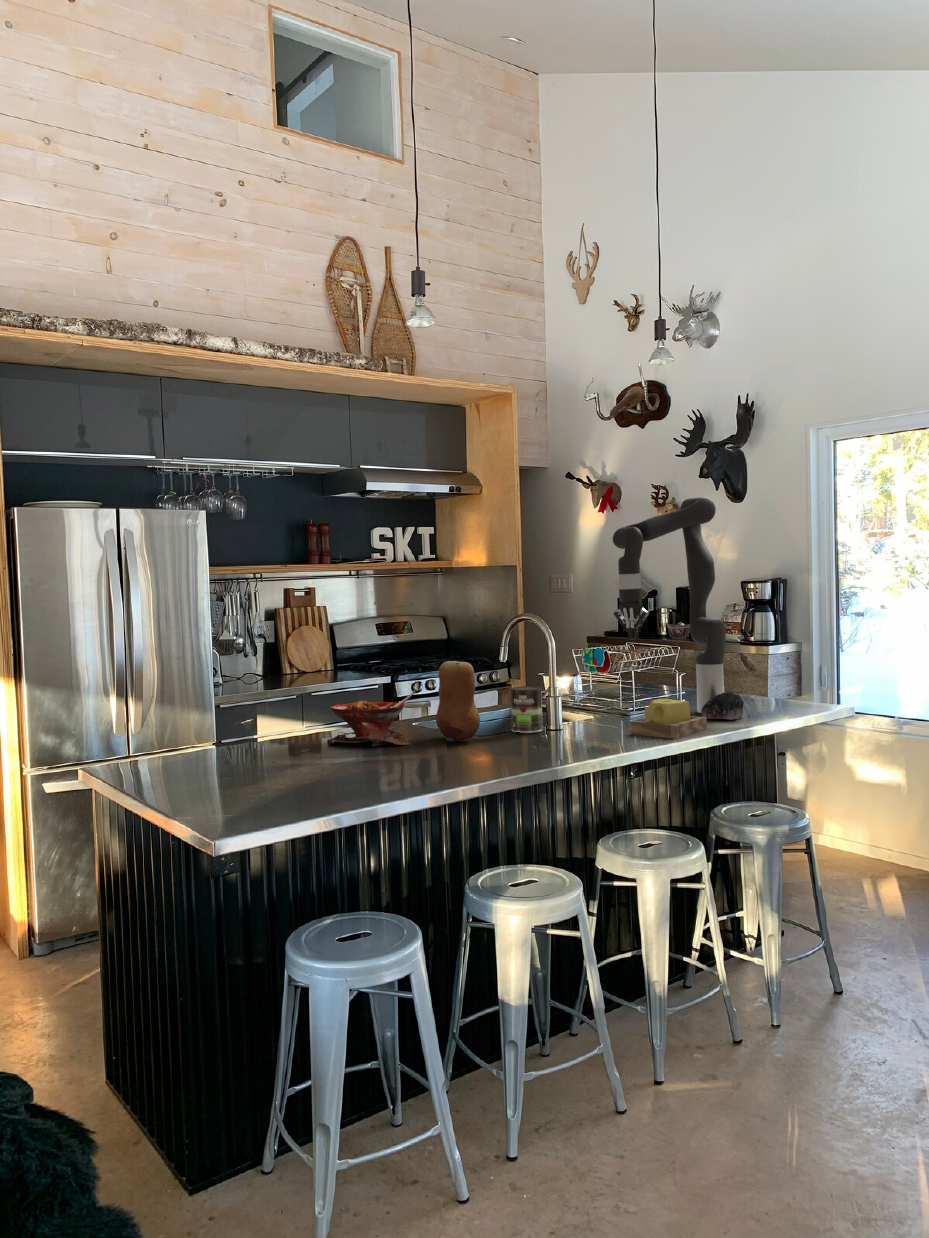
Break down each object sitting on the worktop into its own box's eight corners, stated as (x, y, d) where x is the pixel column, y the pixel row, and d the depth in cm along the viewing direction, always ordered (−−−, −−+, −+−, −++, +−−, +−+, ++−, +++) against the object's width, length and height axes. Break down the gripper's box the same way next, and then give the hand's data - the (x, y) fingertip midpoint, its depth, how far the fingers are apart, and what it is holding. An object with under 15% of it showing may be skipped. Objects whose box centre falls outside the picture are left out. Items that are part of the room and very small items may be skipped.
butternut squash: (482, 735, 306) (479, 658, 305) (478, 743, 293) (476, 662, 292) (439, 736, 308) (436, 659, 306) (434, 744, 294) (431, 663, 293)
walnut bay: (661, 725, 314) (661, 713, 314) (706, 729, 303) (706, 717, 303) (631, 734, 300) (630, 721, 299) (677, 738, 289) (676, 725, 289)
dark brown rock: (694, 719, 325) (693, 690, 325) (727, 716, 330) (727, 687, 329) (717, 724, 313) (716, 694, 312) (751, 721, 317) (751, 691, 317)
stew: (419, 735, 312) (417, 686, 312) (415, 748, 288) (413, 695, 288) (333, 738, 312) (331, 689, 312) (323, 751, 288) (320, 698, 288)
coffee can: (539, 733, 307) (538, 689, 307) (508, 733, 310) (506, 689, 310) (546, 728, 317) (544, 686, 316) (515, 728, 320) (514, 686, 319)
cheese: (643, 732, 304) (642, 700, 303) (668, 728, 309) (667, 697, 309) (666, 736, 295) (665, 703, 294) (691, 732, 300) (691, 700, 300)
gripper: (653, 586, 316) (655, 638, 317) (619, 587, 325) (621, 638, 326) (641, 587, 311) (644, 640, 312) (607, 588, 319) (609, 640, 320)
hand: (632, 639), depth 319 cm, fingers closed
